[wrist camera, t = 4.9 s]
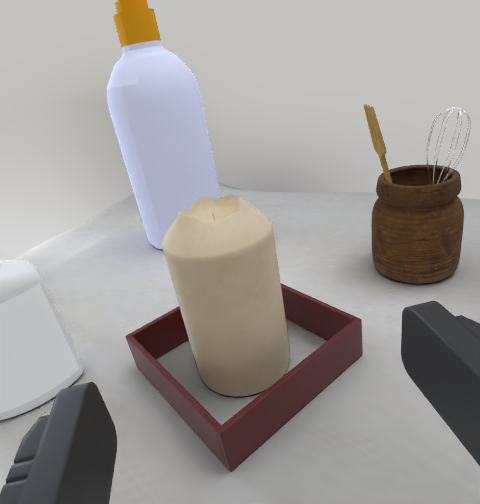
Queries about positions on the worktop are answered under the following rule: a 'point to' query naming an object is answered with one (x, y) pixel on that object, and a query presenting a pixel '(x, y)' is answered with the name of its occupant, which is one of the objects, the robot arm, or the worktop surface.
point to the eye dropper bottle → (31, 341)
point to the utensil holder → (416, 216)
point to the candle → (229, 293)
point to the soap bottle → (158, 123)
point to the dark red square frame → (271, 400)
